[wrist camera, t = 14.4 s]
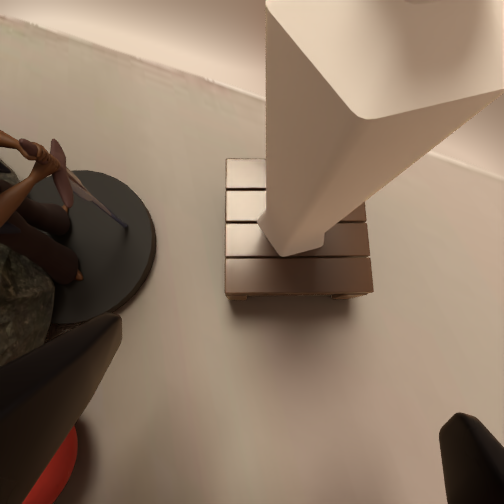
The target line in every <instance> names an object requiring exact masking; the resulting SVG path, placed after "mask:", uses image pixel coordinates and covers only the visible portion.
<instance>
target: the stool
mask: <svg viewBox="0 0 504 504" xmlns="http://www.w3.org/2000/svg"><path fill="white" fill-rule="evenodd" d="M265 210H266V159H226V205H225V221H226V224H225V257H226V259H225V294H226V296H227V298H228V300H247V296H298V295H332V299H351V298H355V297H359V296H363V295H367V294H368V293H372V292H373V280H372V270H371V260H370V258H366V257H368V256H370V250H369V240H368V229H367V223H365V222H366V211H365V202H363V203H362V204H361V205H360V206H358V207H357V208H356V209H354V210H353V211H352V212H351V213H349V214H348V215H347V216H345V217H344V218H343V219H342V220H340V221H339V222H338V223H336V224H335V225H334V226H333V227H331V228H330V229H329V230H327V231H326V232H325V233H324V243H323V245H322V247H319V248H316V249H312V250H308V251H305V252H301V253H297V254H293V255H290V256H286V257H282V256H280V255H279V254H278V253H277V252H276V250H275V249H274V247H273V246H272V244H271V243H270V242H269V240H268V239H267V237H266V236H265V234H264V233H263V231H262V230H261V229H260V227H259V226H258V224H257V220H258V218H259V217H260V216H261V215H262V213H263V212H264V211H265Z"/></svg>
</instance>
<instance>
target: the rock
mask: <svg viewBox="0 0 504 504" xmlns="http://www.w3.org/2000/svg"><path fill="white" fill-rule="evenodd" d="M0 162H1V163H2V164H4V165H5V166H6V167H8V166H7V165H6V164H5V163H4V162H3V161H2V160H0ZM8 168H9V167H8ZM9 169H10V168H9ZM10 171H11V173H10V174H7V173H0V179H2V180H5V181H7V182H9V183H11V184H12V185H16V184H18V183H19V180H18V178H17V176H16V174H15V172H14V171H13V170H12V169H10ZM32 227H33V226H32ZM54 292H55V286H54V283H53V281H52V279H51V277H50V276H49V275H48V274H47V273H46V272H45V271H44V270H43V269H42V268H41V267H40V266H38V265H37V264H35V263H34V262H32V261H31V260H29V259H28V258H27V257H25V256H23V255H21V254H18V253H16V252H14V251H13V250H11V249H10V248H9V247H7V246H5V245H3V244H1V243H0V367H1V366H3V365H5V364H7V363H9V362H11V361H13V360H14V359H16V358H18V357H20V356H22V355H24V354H26V353H28V352H30V351H32V350H34V349H35V348H37V347H39V346H41V345H43V344H44V342H45V339H46V335H47V332H48V329H49V326H50V322H51V317H52V311H53V304H54Z"/></svg>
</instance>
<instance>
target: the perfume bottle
mask: <svg viewBox="0 0 504 504" xmlns="http://www.w3.org/2000/svg"><path fill="white" fill-rule="evenodd" d="M503 93H504V0H266V210H265V211H264V212H263V213H262V215H261V216H260V217H259V218H258V220H257V224H258V226H259V227H260V229H261V230H262V231H263V233H264V234H265V236H266V237H267V239H268V240H269V242H270V243H271V244H272V246H273V247H274V249H275V250H276V252H277V253H278V254H279V255H280V256H282V257H286V256H290V255H293V254H297V253H301V252H305V251H308V250H312V249H316V248H319V247H322V245H323V243H324V233H325V232H326V231H327V230H329V229H330V228H331V227H333V226H334V225H335V224H336V223H338V222H339V221H340V220H342V219H343V218H344V217H345V216H347V215H348V214H349V213H351V212H352V211H353V210H354V209H356V208H357V207H358V206H360V205H361V204H362V203H363V202H365V201H366V200H367V199H368V198H370V197H371V196H372V195H374V194H375V193H376V192H377V191H379V190H380V189H381V188H383V187H384V186H385V185H386V184H388V183H389V182H390V181H392V180H393V179H394V178H395V177H397V176H398V175H399V174H401V173H402V172H403V171H404V170H406V169H407V168H408V167H410V166H411V165H412V164H413V163H415V162H416V161H417V160H418V159H420V158H421V157H422V156H424V155H425V154H426V153H427V152H429V151H430V150H431V149H433V148H434V147H435V146H436V145H438V144H439V143H440V142H441V141H443V140H444V139H445V138H447V137H448V136H449V135H450V134H452V133H453V132H454V131H456V130H457V129H458V128H460V127H461V126H462V125H463V124H464V123H466V122H467V121H469V120H470V119H471V118H472V117H474V116H475V115H476V114H477V113H479V112H480V111H481V110H483V109H484V108H485V107H486V106H488V105H489V104H490V103H491V102H493V101H494V100H495V99H497V98H498V97H499V96H501V95H502V94H503Z"/></svg>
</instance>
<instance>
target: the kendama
mask: <svg viewBox="0 0 504 504" xmlns="http://www.w3.org/2000/svg"><path fill="white" fill-rule="evenodd" d="M77 448H78V442H77V434H76V429H75V426H73V427H72V429H71V430H70V432H69V434H68V435H67V437H66V438H65V440H64V441H63V443H62V444H61V446H60V447H59V449H58V450H57V452H56V453H55V455H54V456H53V458H52V459H51V461H50V462H49V464H48V465H47V467H46V468H45V470H44V471H43V473H42V474H41V476H40V477H39V479H38V480H37V482H36V483H35V485H34V486H33V488H32V489H31V491H30V492H29V494H28V495H27V497H26V498H25V500H24V501H23V503H22V504H52V503H53V502H54V501H55V500H56V498H57V497H58V496H59V494H60V493H61V492H62V490H63V488H64V487H65V485H66V483H67V481H68V479H69V477H70V475H71V473H72V471H73V468H74V465H75V461H76V457H77Z"/></svg>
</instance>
